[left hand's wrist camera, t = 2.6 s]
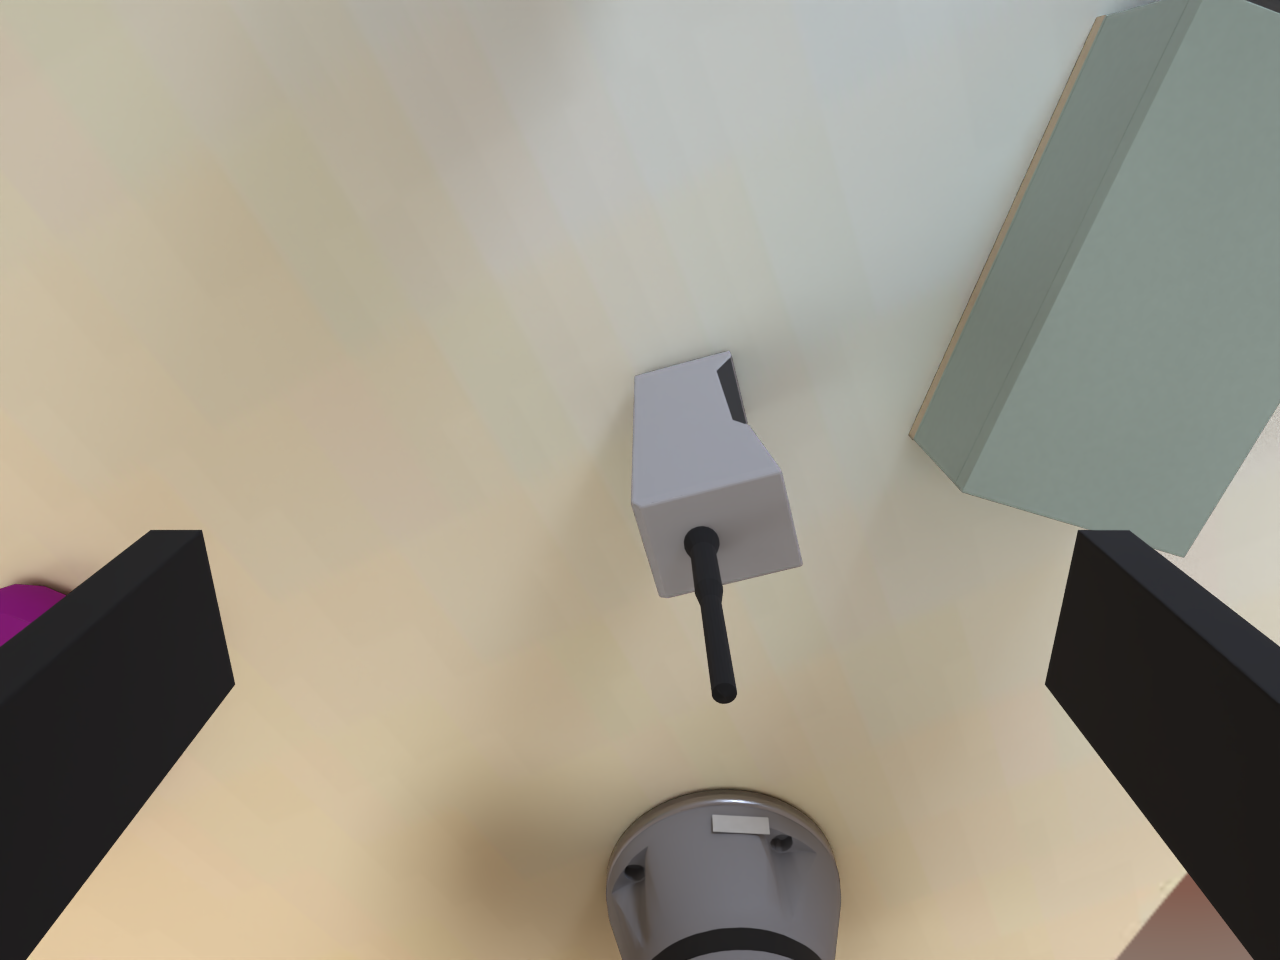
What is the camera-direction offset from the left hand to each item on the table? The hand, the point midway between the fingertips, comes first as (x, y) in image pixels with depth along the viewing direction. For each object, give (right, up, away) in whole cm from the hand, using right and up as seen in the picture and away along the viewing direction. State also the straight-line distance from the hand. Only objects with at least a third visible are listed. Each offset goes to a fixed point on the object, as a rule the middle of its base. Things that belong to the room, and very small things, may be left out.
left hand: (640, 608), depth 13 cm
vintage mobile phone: (+3, +6, +30) cm, 31 cm away
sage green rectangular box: (+22, +12, +28) cm, 38 cm away
